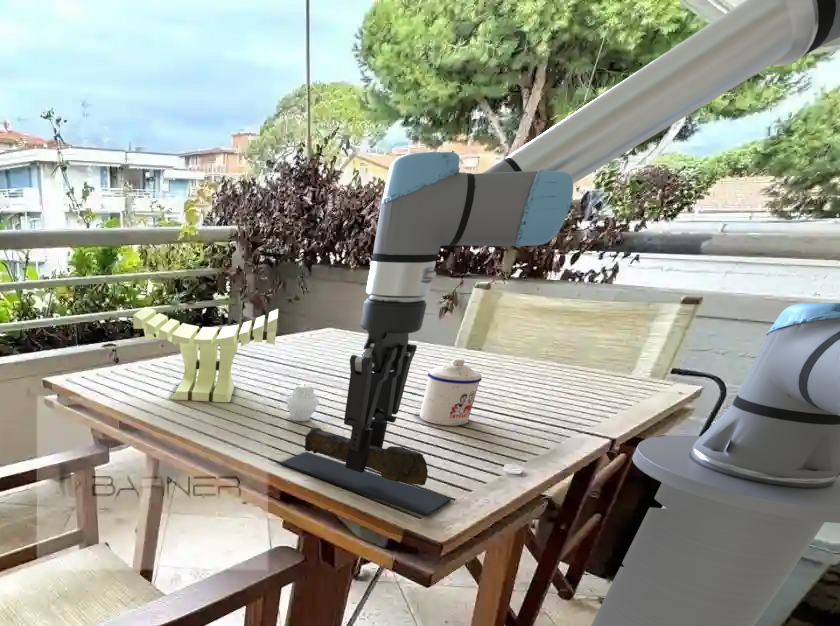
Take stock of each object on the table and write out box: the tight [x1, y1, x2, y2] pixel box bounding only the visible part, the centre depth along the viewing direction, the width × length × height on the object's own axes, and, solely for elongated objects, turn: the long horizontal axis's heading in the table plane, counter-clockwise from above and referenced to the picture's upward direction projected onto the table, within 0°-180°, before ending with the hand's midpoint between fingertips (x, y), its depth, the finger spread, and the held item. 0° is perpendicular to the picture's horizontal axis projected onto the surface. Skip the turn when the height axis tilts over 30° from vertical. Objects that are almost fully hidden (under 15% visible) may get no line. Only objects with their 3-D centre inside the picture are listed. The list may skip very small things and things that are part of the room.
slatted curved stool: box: [132, 306, 279, 403], centre depth 124 cm, size 30×16×18 cm, turn 77°
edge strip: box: [280, 451, 452, 517], centre depth 83 cm, size 24×7×1 cm, turn 40°
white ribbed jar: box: [286, 383, 320, 422], centre depth 108 cm, size 6×6×7 cm
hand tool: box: [304, 427, 429, 486], centre depth 81 cm, size 19×4×5 cm, turn 36°
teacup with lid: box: [419, 358, 483, 427], centre depth 106 cm, size 12×9×12 cm
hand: (361, 465), depth 82 cm, fingers closed on hand tool, 3 cm apart
